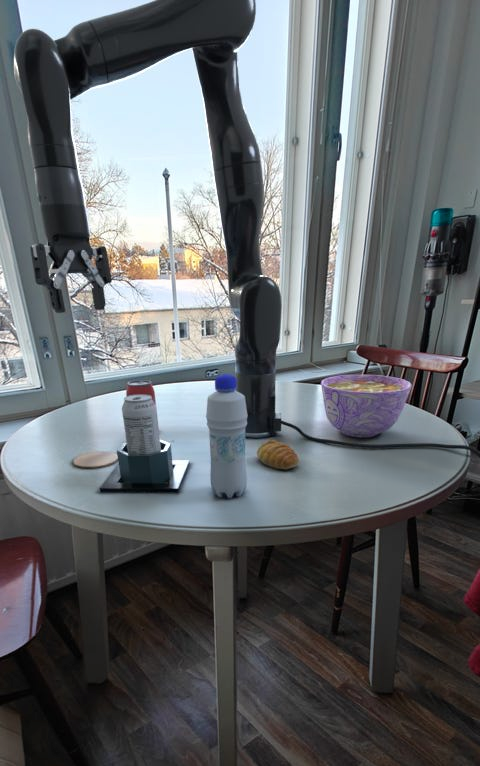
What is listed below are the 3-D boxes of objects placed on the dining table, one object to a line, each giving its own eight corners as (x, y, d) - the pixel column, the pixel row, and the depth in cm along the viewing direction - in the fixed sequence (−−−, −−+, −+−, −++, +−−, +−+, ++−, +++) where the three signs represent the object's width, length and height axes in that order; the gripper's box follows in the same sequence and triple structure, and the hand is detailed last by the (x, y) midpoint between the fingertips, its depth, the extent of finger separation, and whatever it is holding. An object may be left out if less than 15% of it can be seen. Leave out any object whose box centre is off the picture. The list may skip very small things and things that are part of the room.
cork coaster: (123, 453, 99) (122, 451, 99) (111, 468, 91) (110, 466, 91) (82, 453, 99) (82, 451, 99) (66, 468, 92) (66, 466, 91)
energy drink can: (168, 472, 89) (160, 394, 81) (156, 484, 84) (147, 402, 76) (139, 470, 90) (129, 393, 83) (126, 482, 85) (114, 400, 78)
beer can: (161, 429, 114) (156, 379, 108) (154, 437, 108) (149, 385, 103) (136, 428, 115) (129, 379, 109) (128, 436, 109) (120, 385, 103)
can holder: (189, 464, 93) (187, 435, 90) (178, 492, 80) (175, 460, 77) (121, 463, 93) (117, 435, 90) (100, 492, 81) (94, 460, 78)
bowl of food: (308, 440, 104) (311, 388, 99) (327, 418, 120) (331, 372, 115) (399, 450, 98) (408, 395, 92) (407, 424, 114) (414, 376, 108)
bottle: (209, 486, 83) (203, 371, 73) (246, 484, 83) (245, 369, 73) (210, 502, 77) (204, 379, 67) (250, 500, 77) (249, 378, 68)
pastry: (307, 467, 90) (308, 448, 88) (279, 474, 87) (279, 455, 85) (279, 453, 97) (279, 436, 95) (252, 460, 94) (252, 442, 92)
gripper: (35, 197, 70) (58, 314, 77) (111, 206, 79) (124, 309, 87) (10, 202, 74) (34, 313, 82) (85, 210, 83) (100, 308, 91)
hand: (80, 311), depth 84 cm, fingers open, 8 cm apart
